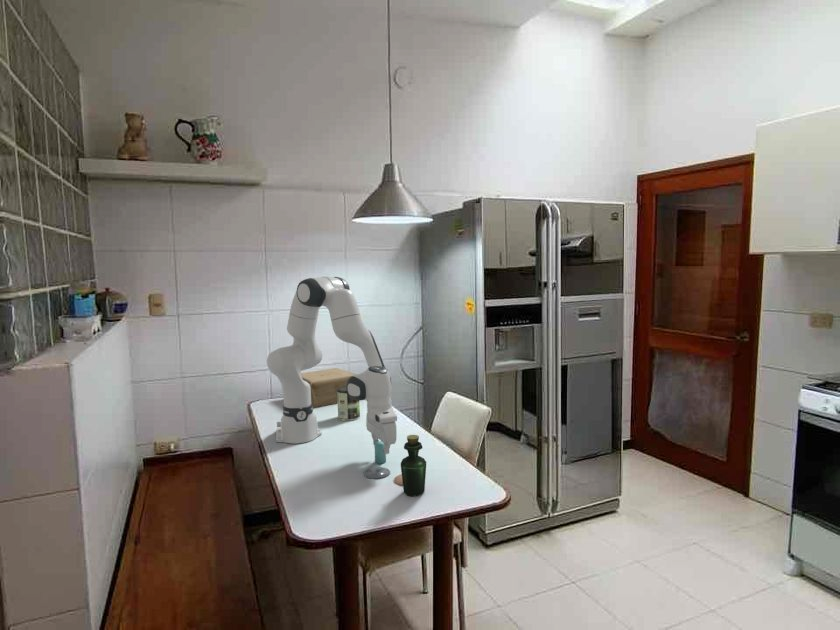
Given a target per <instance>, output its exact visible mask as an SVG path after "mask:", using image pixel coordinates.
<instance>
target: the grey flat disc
mask: <svg viewBox="0 0 840 630" xmlns="http://www.w3.org/2000/svg"><path fill="white" fill-rule="evenodd" d="M390 475H391V470H390V469H389V468H387V467H383V466H382V467H381V466H375V467H370V468H368V469H366V470H364V472H363V476H364V478H367V479H371V480H378V479H379V480H381V479H385V478H387V477H388V476H390Z"/></svg>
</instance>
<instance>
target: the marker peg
mask: <svg viewBox="0 0 840 630" xmlns="http://www.w3.org/2000/svg"><path fill="white" fill-rule="evenodd" d="M373 445H374V463H375V464H376V465H382V464H385V463H386V462H387V454H385V453H383V448H384V443H383V442H382V441H381V440H379V441H378V442H375V443H374V444H373Z"/></svg>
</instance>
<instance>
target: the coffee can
mask: <svg viewBox="0 0 840 630" xmlns="http://www.w3.org/2000/svg"><path fill="white" fill-rule="evenodd" d="M337 400H338V403H337V419H338V420H339V421H342V422H349V421H350V422H351V421H352V422H353V421H357V420H359V419H360V418H361V409H360V406H361V405H360V401H356V400H353V399H352V398H350V397H349V395H348V393H347V389H346V386H342V387H338V388H337Z"/></svg>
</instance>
